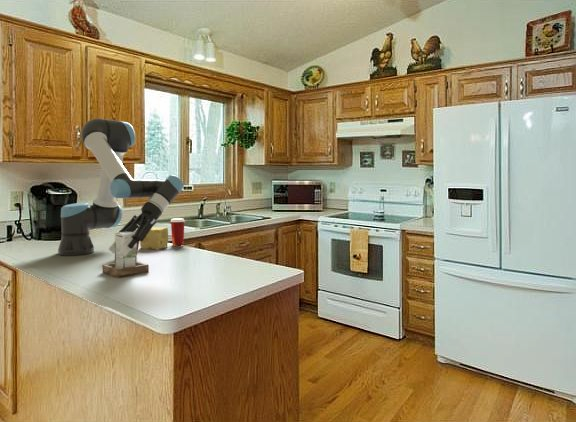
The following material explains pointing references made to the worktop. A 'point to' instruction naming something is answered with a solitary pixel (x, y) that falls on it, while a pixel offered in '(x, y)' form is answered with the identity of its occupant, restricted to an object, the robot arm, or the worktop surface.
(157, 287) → the worktop surface
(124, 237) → the syrup box
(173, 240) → the paper cup
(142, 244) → the cheese
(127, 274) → the tray
